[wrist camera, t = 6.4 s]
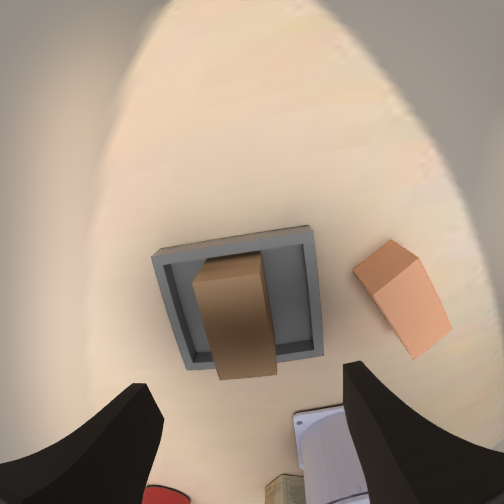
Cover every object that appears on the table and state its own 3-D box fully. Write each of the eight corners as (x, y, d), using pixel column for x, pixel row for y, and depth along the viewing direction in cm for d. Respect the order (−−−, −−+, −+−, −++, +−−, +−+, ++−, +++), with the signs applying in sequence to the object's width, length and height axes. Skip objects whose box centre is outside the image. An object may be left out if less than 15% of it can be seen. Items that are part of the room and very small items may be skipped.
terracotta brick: (425, 302, 19) (452, 328, 15) (392, 328, 19) (413, 360, 15) (390, 238, 17) (418, 257, 14) (352, 269, 18) (372, 295, 14)
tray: (320, 341, 20) (323, 355, 18) (191, 356, 20) (186, 370, 19) (308, 224, 17) (312, 231, 16) (160, 248, 18) (150, 256, 16)
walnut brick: (275, 336, 19) (277, 374, 15) (227, 341, 19) (219, 379, 15) (260, 249, 17) (259, 273, 13) (207, 257, 18) (192, 282, 14)
